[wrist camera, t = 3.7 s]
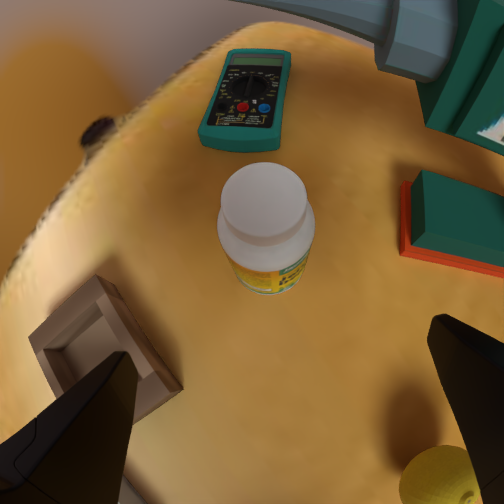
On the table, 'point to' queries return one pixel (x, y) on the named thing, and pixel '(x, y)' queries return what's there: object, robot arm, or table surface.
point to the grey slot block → (129, 494)
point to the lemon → (439, 478)
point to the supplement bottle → (266, 226)
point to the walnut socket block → (100, 345)
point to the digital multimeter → (247, 102)
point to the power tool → (438, 111)
